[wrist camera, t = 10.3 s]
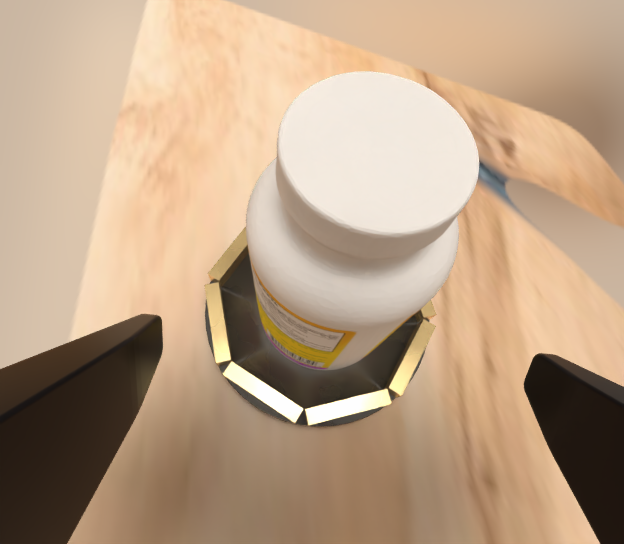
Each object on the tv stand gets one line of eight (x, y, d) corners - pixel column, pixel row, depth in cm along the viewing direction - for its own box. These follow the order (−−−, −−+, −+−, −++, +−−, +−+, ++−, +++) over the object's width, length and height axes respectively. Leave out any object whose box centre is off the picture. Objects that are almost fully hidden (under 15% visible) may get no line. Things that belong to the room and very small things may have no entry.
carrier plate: (454, 395, 20) (471, 391, 18) (226, 454, 18) (220, 456, 17) (386, 204, 25) (395, 186, 23) (195, 235, 23) (188, 218, 21)
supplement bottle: (365, 245, 22) (467, 32, 10) (398, 358, 20) (578, 251, 8) (249, 262, 21) (216, 49, 9) (269, 385, 19) (258, 307, 7)
